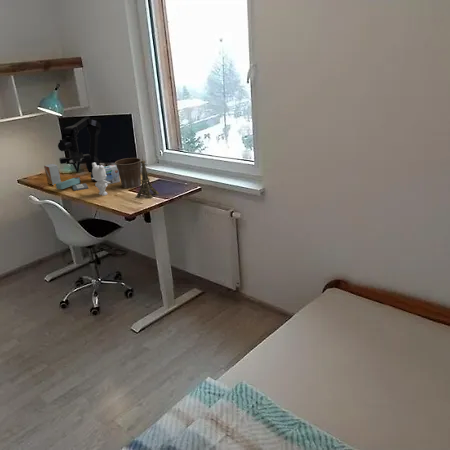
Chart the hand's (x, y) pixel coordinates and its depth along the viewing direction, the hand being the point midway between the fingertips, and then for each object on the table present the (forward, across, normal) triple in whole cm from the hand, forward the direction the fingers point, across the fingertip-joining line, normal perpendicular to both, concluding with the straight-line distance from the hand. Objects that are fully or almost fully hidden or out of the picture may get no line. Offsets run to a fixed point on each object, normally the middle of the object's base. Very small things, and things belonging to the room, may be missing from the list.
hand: (77, 172), depth 293 cm
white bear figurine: (+11, +10, -22) cm, 27 cm away
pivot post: (+11, 0, +12) cm, 16 cm away
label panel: (+11, 0, +2) cm, 11 cm away
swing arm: (+10, -6, +8) cm, 13 cm away
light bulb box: (+11, +20, +2) cm, 23 cm away
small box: (+11, -14, +24) cm, 30 cm away
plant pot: (+11, +30, -14) cm, 35 cm away
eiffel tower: (+11, +33, -40) cm, 53 cm away
